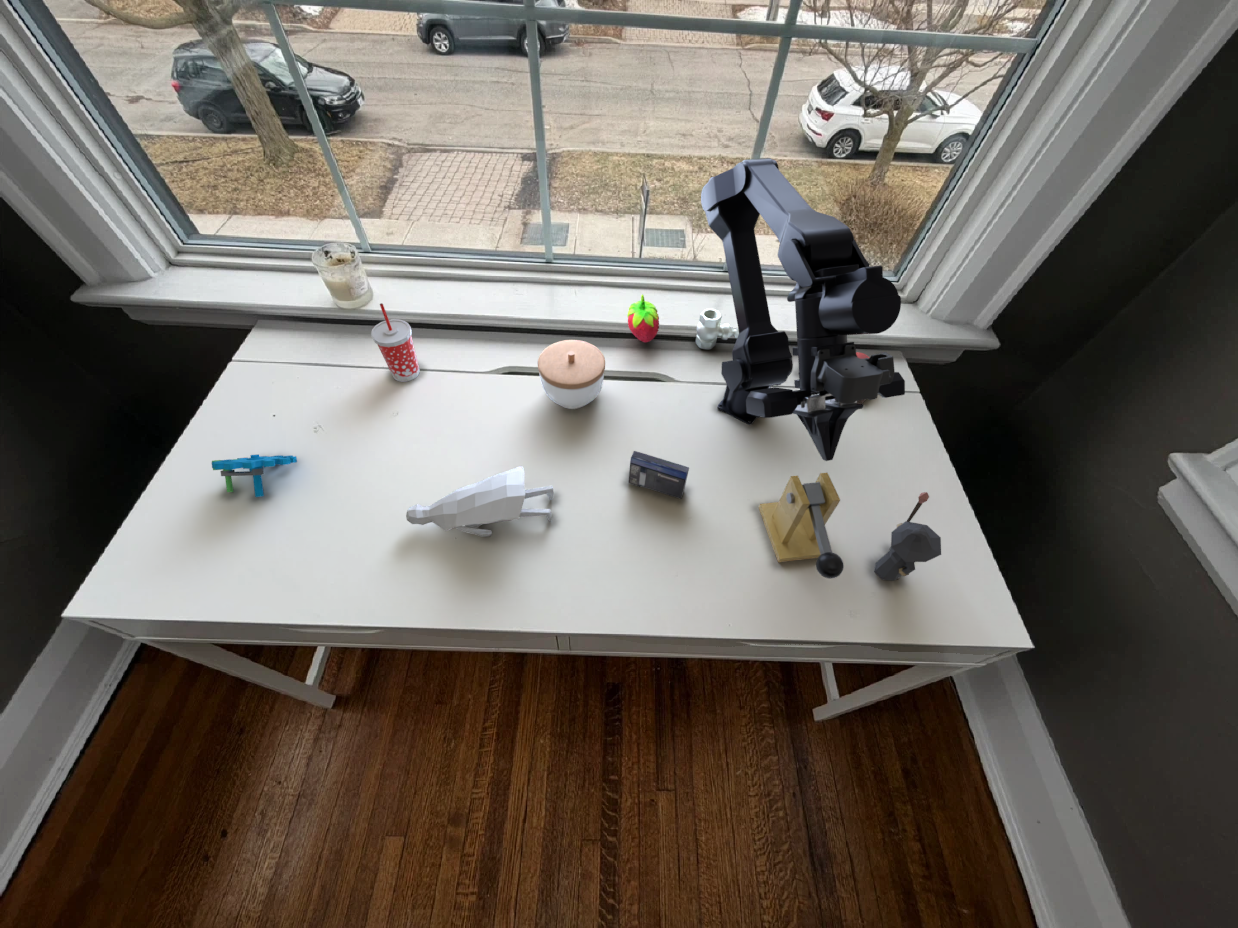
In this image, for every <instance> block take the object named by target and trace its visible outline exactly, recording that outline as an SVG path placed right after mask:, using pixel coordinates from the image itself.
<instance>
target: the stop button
mask: <svg viewBox="0 0 1238 928" xmlns="http://www.w3.org/2000/svg"><path fill="white" fill-rule="evenodd" d="M856 355H857V357H858V358H860V359H863V358H870V356H868V355H867V354H866V353H863V352H859V351H856Z"/></svg>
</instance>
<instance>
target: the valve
mask: <svg viewBox="0 0 1238 928" xmlns="http://www.w3.org/2000/svg"><path fill="white" fill-rule="evenodd" d="M722 318H723V315H722V314H721V312H720V311H719V310H718V309H715V308H705V309H704V310H703V311H701V313H700V314H699V320H698V321H699V322H698V323H697V326H696V336H695V344H696V346H697V347H698V348H699V349H701V350H712V349H713V348H714V347H715V346H716V344H717V340H718V338H720V339H721V340H724V341H727V340H728V339H729V338H732V336H733V337H734V338H735V339H737V338H738V335H739V329H738V327H736V328H734V327H733V326H731V324H730V323H729V322H723V324H722V322H721V321H722Z"/></svg>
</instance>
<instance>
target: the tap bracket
mask: <svg viewBox="0 0 1238 928" xmlns="http://www.w3.org/2000/svg"><path fill="white" fill-rule="evenodd" d="M816 482H820V485H821V488H822V492H823V496H824V499H825V503H824V504H823V505H821V506H820V510H821V513H822V517H823V521H824V524H825V525H827V523H828V521H829V520H830V518H831V517H832V515H833V513H834V511H835V510H836V508H837V506H838V505H839V503H841V498H840V495H839V494H838V492H837V490H836V488H835V485H834V483H833V481H832V479H831V477H830V474H829V473H828V472H820V473H819V474H818V476H817V478H816V480H815V482H814V483H816ZM802 485H803V484H802V481H801V479H800V477H799V475H790V477H789V479H788V481H787V483H786V485H785V488H784V490H783V491H782V494H781V496H780V498H779V500H778V501H774V502H765V503H759V505H758V510H759V513H760V516H761V519H762V521H763V524H764V527H765V529H766V530H765V531H766V532H767V536H768V538H769V541H770V544H771V546H772V550H773V552H774V555H775V558H776V560H777V562H778V563H785V562H793V561H794V562H795V561H803V560H810V559H811V560H812V559H817V558H818V557H819V556H820V555H821V554H820V550H819V547H818V543H817V539H816V535H815V531H814V528H813V524H812V520H811V516H810V513H809V509H807V508H808V506H809V504H810V502H809V500H808V498H807V495H806V493H805V491H804V488H803V486H802Z"/></svg>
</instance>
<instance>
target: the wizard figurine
mask: <svg viewBox="0 0 1238 928" xmlns="http://www.w3.org/2000/svg"><path fill="white" fill-rule="evenodd" d="M929 498H930V495H929V493H928V491H924V492H920V493H919V496H918V501H917V503H916V504H915V506H914V507H913V509H912V511H911V512H910V514H909V516H908V518H907V519H906V520H905V521H904V522H900V523H898V524H896V528H895V529H894V530H892V531H891V534H890V535H891V536H890V537H891V538H890V541H891V542H890V548H889V550H888V551H887V552H886V553H884V555H882V557H880V558H879V559H878V560H877V561H876V562H875V564H874V571H873V573H875V575H876V576H878V577H879V578H880V579H881V580H883V581H896V580H898V581H899V578H901V576H902V577H906V576H909V575H910V574H911V573H912V572H914V571H916V565H915V563H926V562H929V561H931V560H933V559H935V558H938V557H940V556H942V538H941V536H940V535H939V534H938V533H936V531H934V530H933V529H932V528H931V527H930V526H929V525H927V524H923V523H918V522H912V520H913V518H914V517H915V516H916V514H917V512H918V511H919V509H920V508H921V507H922V505H923V504H924V503H927V502H928V500H929Z"/></svg>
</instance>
